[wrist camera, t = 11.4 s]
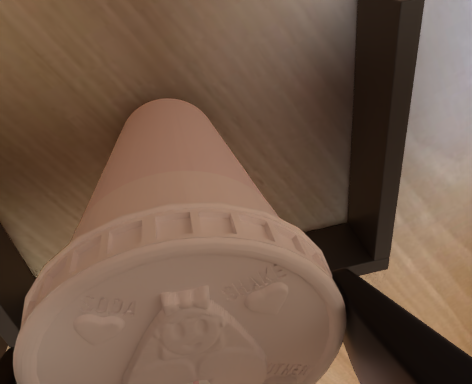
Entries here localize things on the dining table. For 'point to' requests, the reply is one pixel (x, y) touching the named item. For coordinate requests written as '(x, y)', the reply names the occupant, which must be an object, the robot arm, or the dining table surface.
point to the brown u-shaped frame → (362, 155)
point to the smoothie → (180, 274)
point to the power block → (2, 346)
